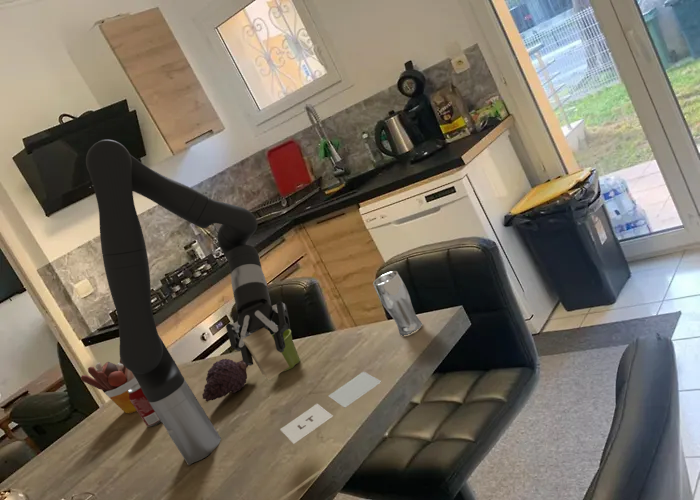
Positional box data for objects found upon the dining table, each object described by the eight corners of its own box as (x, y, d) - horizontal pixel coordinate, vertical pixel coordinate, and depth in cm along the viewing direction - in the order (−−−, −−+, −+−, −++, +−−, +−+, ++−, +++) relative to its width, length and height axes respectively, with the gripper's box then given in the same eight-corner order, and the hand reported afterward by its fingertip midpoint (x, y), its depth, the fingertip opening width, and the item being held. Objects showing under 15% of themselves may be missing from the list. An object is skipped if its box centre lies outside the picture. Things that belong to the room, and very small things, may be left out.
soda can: (163, 423, 185) (140, 388, 182) (143, 431, 187) (121, 396, 184) (172, 410, 192) (151, 376, 189) (154, 417, 193) (132, 384, 191)
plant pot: (304, 365, 175) (289, 338, 173) (273, 380, 176) (257, 353, 174) (306, 351, 184) (292, 324, 182) (276, 365, 185) (261, 339, 183)
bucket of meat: (144, 389, 223) (113, 340, 218) (177, 381, 214) (145, 330, 210) (103, 427, 207) (68, 375, 202) (136, 420, 198) (101, 365, 193)
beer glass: (423, 318, 166) (398, 267, 163) (425, 330, 160) (398, 276, 156) (398, 329, 168) (372, 279, 164) (398, 341, 161) (371, 288, 157)
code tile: (294, 445, 137) (293, 443, 137) (280, 430, 147) (279, 429, 147) (334, 417, 140) (333, 415, 140) (318, 404, 150) (317, 403, 150)
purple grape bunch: (222, 413, 172) (203, 382, 169) (201, 413, 178) (182, 383, 176) (266, 372, 184) (249, 342, 181) (245, 374, 191) (228, 345, 188)
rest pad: (345, 409, 141) (344, 407, 141) (328, 397, 151) (328, 395, 151) (382, 383, 144) (382, 381, 144) (364, 372, 154) (363, 371, 154)
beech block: (269, 380, 137) (248, 344, 135) (262, 374, 142) (242, 339, 140) (289, 366, 139) (269, 330, 137) (282, 361, 143) (262, 326, 141)
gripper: (213, 296, 144) (226, 366, 136) (270, 270, 142) (287, 339, 133) (231, 308, 151) (244, 375, 142) (286, 282, 148) (303, 349, 140)
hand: (265, 357), depth 138 cm, fingers closed on beech block, 7 cm apart
